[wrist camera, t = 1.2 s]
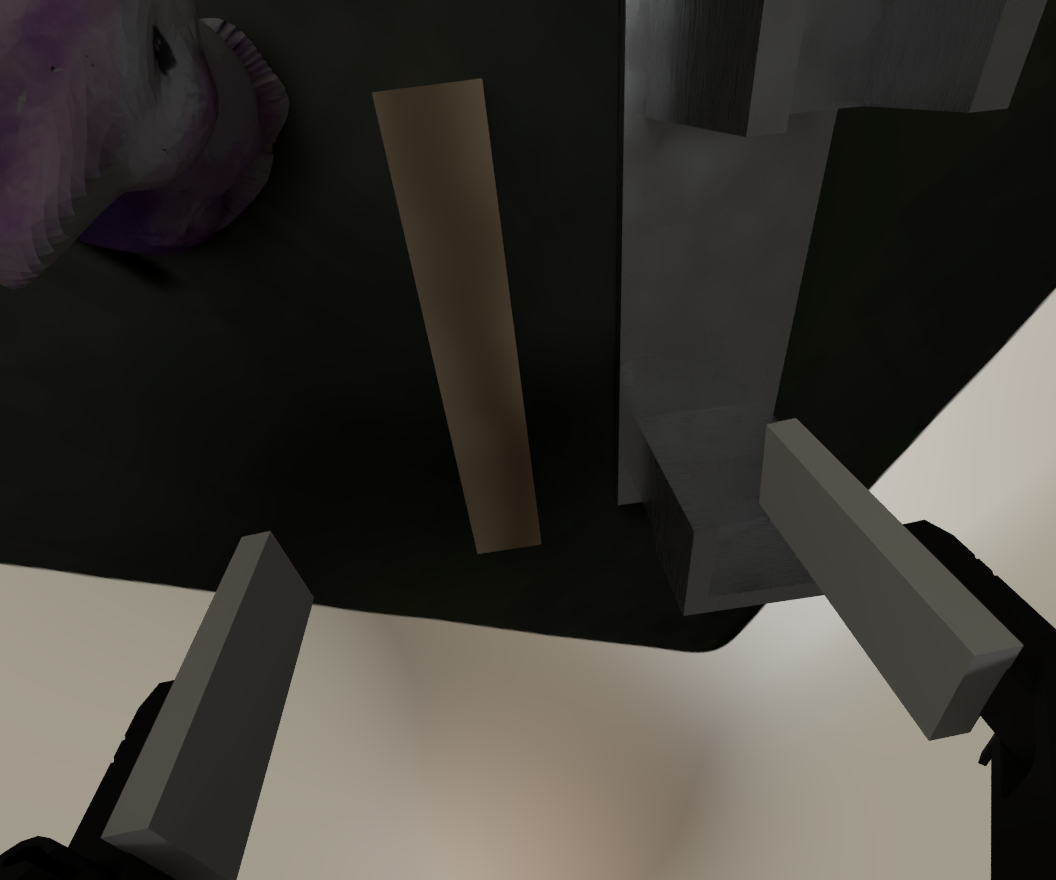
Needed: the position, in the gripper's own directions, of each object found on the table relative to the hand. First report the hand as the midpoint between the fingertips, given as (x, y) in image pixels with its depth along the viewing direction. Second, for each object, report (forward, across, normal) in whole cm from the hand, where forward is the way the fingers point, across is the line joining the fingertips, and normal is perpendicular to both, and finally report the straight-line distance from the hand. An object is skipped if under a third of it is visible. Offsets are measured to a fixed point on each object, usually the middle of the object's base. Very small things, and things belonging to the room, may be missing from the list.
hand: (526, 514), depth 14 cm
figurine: (+18, -11, +11) cm, 24 cm away
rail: (+18, -1, -2) cm, 18 cm away
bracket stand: (+17, +12, -2) cm, 21 cm away
